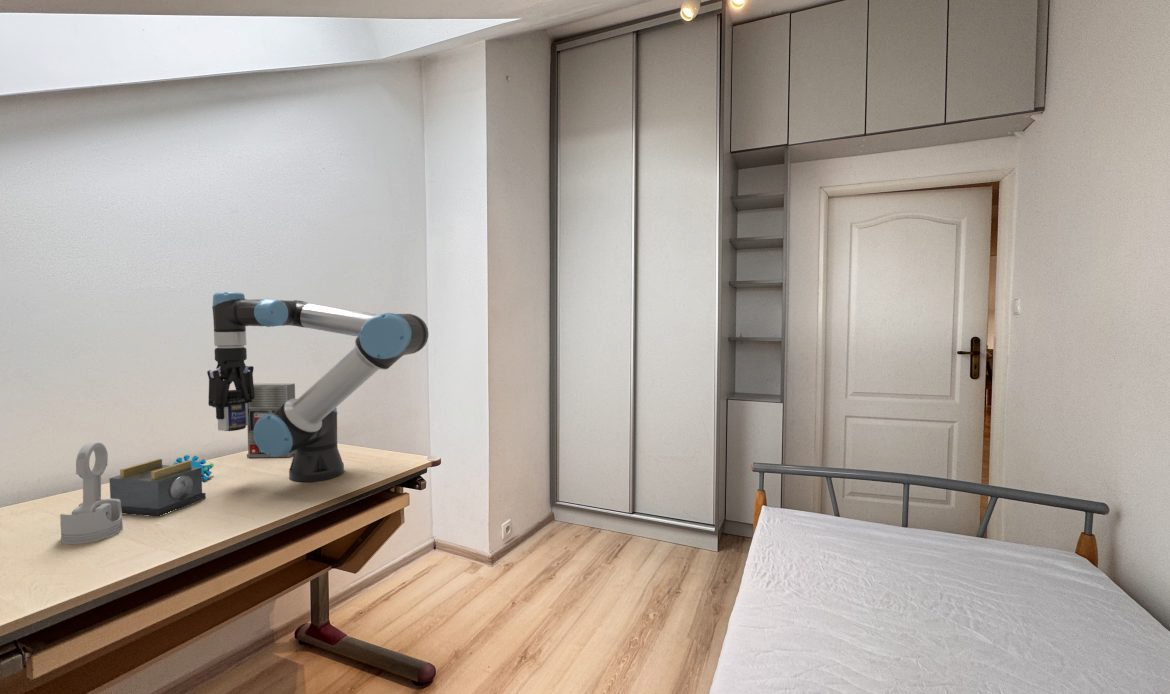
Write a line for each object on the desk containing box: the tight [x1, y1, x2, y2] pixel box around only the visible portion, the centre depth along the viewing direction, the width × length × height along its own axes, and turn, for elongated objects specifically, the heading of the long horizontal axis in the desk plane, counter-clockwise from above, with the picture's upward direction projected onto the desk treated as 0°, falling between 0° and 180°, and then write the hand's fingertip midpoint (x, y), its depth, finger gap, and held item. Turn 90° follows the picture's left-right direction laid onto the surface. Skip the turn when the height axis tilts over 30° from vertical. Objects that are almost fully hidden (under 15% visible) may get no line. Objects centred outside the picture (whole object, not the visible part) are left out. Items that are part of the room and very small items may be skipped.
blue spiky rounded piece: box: [172, 454, 215, 482], centre depth 154 cm, size 11×6×10 cm
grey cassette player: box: [246, 382, 296, 459], centre depth 182 cm, size 14×6×25 cm, turn 95°
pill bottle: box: [220, 389, 247, 432], centre depth 149 cm, size 6×6×11 cm
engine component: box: [59, 442, 124, 545], centre depth 117 cm, size 11×20×10 cm
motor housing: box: [108, 458, 207, 517], centre depth 135 cm, size 15×13×10 cm
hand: (233, 427), depth 150 cm, fingers closed on pill bottle, 6 cm apart
